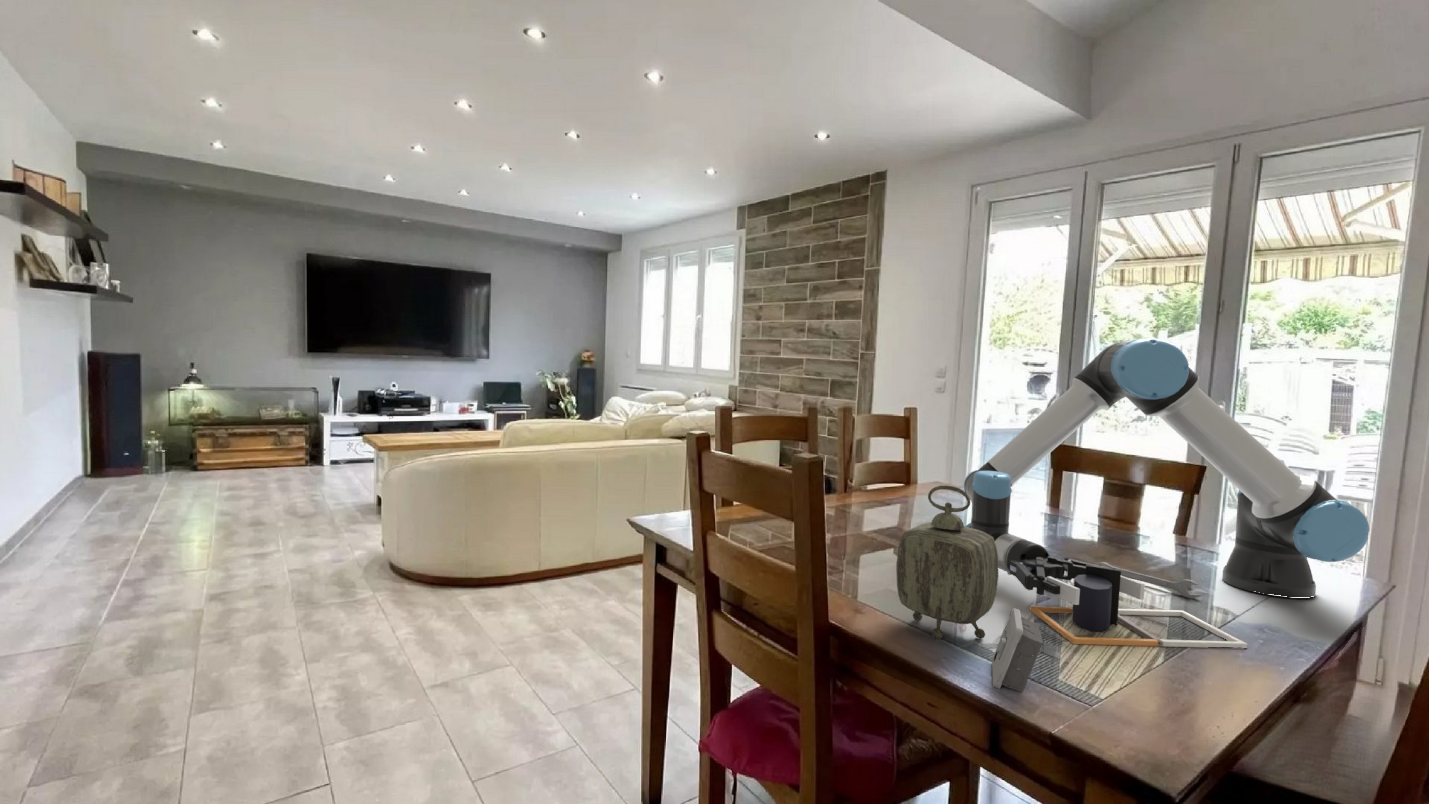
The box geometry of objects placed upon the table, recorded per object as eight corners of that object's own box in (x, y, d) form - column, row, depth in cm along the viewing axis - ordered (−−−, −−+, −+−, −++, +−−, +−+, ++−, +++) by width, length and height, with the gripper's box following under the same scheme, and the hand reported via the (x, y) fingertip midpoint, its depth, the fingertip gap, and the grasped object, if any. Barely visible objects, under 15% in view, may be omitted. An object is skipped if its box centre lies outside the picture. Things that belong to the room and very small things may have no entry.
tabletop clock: (995, 639, 107) (1003, 489, 106) (976, 656, 100) (984, 496, 99) (911, 615, 117) (917, 477, 115) (889, 630, 110) (895, 483, 108)
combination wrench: (1096, 559, 146) (1198, 583, 128) (1099, 558, 146) (1202, 582, 129) (1096, 575, 146) (1198, 602, 129) (1099, 574, 146) (1201, 601, 129)
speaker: (1083, 613, 119) (1087, 560, 118) (1118, 625, 115) (1122, 569, 113) (1065, 627, 115) (1069, 571, 113) (1100, 640, 110) (1105, 582, 109)
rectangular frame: (1182, 614, 121) (1182, 610, 121) (1246, 648, 106) (1247, 643, 106) (1030, 610, 121) (1030, 606, 121) (1073, 643, 106) (1073, 639, 106)
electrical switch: (991, 662, 99) (1001, 603, 98) (1028, 672, 97) (1038, 612, 96) (992, 690, 90) (1002, 626, 89) (1033, 702, 88) (1044, 636, 87)
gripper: (1070, 572, 134) (1166, 610, 114) (966, 579, 128) (1047, 621, 107) (1072, 536, 134) (1169, 568, 113) (968, 542, 127) (1050, 576, 107)
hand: (1110, 594), depth 110 cm, fingers open, 13 cm apart
